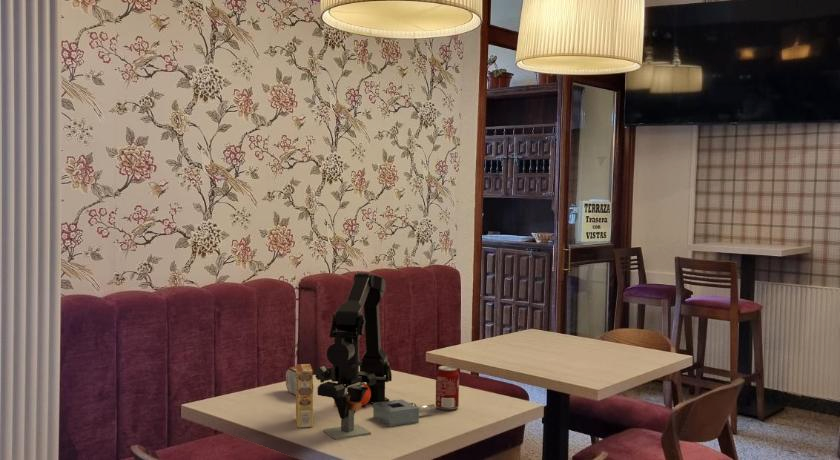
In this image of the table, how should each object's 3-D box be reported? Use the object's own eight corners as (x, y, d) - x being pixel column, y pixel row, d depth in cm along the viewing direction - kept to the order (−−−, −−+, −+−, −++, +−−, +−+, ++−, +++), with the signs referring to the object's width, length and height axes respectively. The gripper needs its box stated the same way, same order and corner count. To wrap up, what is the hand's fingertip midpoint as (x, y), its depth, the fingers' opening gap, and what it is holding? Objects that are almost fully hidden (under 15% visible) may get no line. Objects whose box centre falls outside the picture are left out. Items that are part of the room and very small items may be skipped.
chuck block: (373, 417, 224) (373, 402, 224) (424, 410, 232) (425, 396, 232) (389, 426, 216) (389, 411, 215) (442, 418, 224) (442, 404, 224)
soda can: (456, 412, 231) (457, 370, 230) (433, 410, 232) (434, 369, 232) (460, 406, 238) (460, 366, 237) (437, 404, 239) (438, 364, 238)
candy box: (313, 427, 214) (313, 370, 213) (297, 428, 213) (297, 371, 212) (310, 418, 222) (310, 363, 221) (294, 418, 221) (295, 364, 220)
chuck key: (339, 427, 212) (339, 398, 212) (361, 431, 209) (361, 402, 208) (333, 429, 210) (334, 400, 210) (355, 434, 207) (356, 404, 206)
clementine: (343, 403, 239) (343, 379, 238) (365, 401, 241) (365, 377, 241) (351, 409, 231) (352, 385, 231) (374, 407, 234) (374, 383, 234)
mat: (323, 430, 211) (323, 429, 210) (357, 426, 215) (358, 424, 215) (335, 439, 204) (335, 437, 204) (370, 434, 208) (370, 432, 208)
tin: (314, 400, 241) (314, 373, 240) (304, 402, 239) (304, 374, 239) (292, 390, 253) (292, 363, 253) (283, 391, 251) (283, 364, 251)
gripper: (344, 348, 221) (343, 404, 221) (300, 360, 205) (300, 420, 205) (377, 353, 215) (377, 410, 216) (336, 365, 199) (335, 427, 200)
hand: (347, 416), depth 209 cm, fingers open, 4 cm apart
